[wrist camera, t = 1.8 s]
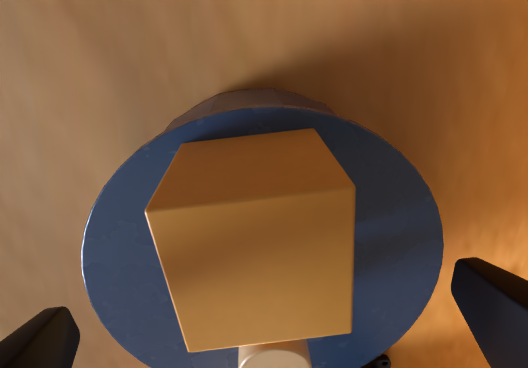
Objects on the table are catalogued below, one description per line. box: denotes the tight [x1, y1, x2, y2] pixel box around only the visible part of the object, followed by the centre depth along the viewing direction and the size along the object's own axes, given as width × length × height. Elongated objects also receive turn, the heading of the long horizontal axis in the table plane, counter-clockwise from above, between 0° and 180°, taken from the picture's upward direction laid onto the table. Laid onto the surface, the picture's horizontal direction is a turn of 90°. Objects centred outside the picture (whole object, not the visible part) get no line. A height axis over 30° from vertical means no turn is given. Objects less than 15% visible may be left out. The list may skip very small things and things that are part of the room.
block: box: [145, 128, 356, 352], centre depth 10 cm, size 5×5×5 cm
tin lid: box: [82, 104, 444, 368], centre depth 13 cm, size 15×15×5 cm
